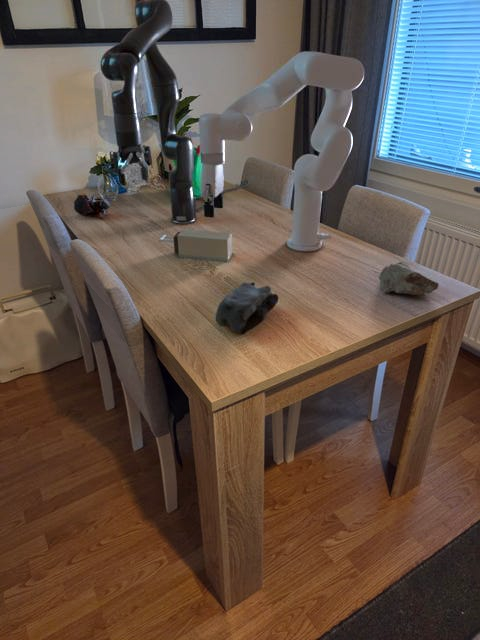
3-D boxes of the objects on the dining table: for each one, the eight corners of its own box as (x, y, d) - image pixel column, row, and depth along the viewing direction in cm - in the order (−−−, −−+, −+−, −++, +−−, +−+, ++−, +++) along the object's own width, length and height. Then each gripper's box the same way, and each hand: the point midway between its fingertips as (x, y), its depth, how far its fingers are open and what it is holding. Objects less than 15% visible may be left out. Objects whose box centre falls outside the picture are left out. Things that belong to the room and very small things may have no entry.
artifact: (399, 307, 125) (440, 299, 130) (406, 284, 121) (449, 278, 126) (362, 275, 139) (401, 270, 144) (368, 254, 135) (408, 249, 140)
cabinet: (178, 256, 154) (177, 235, 150) (184, 249, 159) (183, 228, 155) (227, 261, 150) (227, 239, 146) (232, 254, 156) (231, 233, 152)
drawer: (158, 251, 155) (157, 235, 152) (164, 246, 159) (162, 230, 156) (219, 257, 151) (219, 241, 148) (223, 251, 155) (223, 235, 152)
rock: (249, 344, 108) (249, 316, 104) (210, 332, 113) (209, 305, 109) (280, 311, 122) (281, 285, 118) (243, 301, 127) (244, 276, 123)
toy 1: (101, 187, 180) (72, 186, 186) (93, 207, 178) (64, 205, 183) (117, 205, 191) (89, 203, 196) (109, 223, 188) (82, 221, 194)
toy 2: (167, 190, 223) (163, 137, 210) (207, 188, 227) (205, 135, 214) (172, 202, 206) (167, 145, 193) (214, 199, 210) (213, 143, 197)
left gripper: (139, 124, 142) (144, 176, 151) (100, 130, 133) (108, 184, 142) (153, 127, 138) (158, 180, 146) (115, 133, 129) (122, 189, 138)
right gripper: (209, 151, 144) (211, 203, 153) (191, 163, 130) (194, 219, 139) (231, 153, 143) (232, 205, 152) (215, 164, 128) (216, 221, 137)
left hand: (134, 182), depth 144 cm, fingers open, 8 cm apart
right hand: (213, 212), depth 145 cm, fingers open, 9 cm apart
